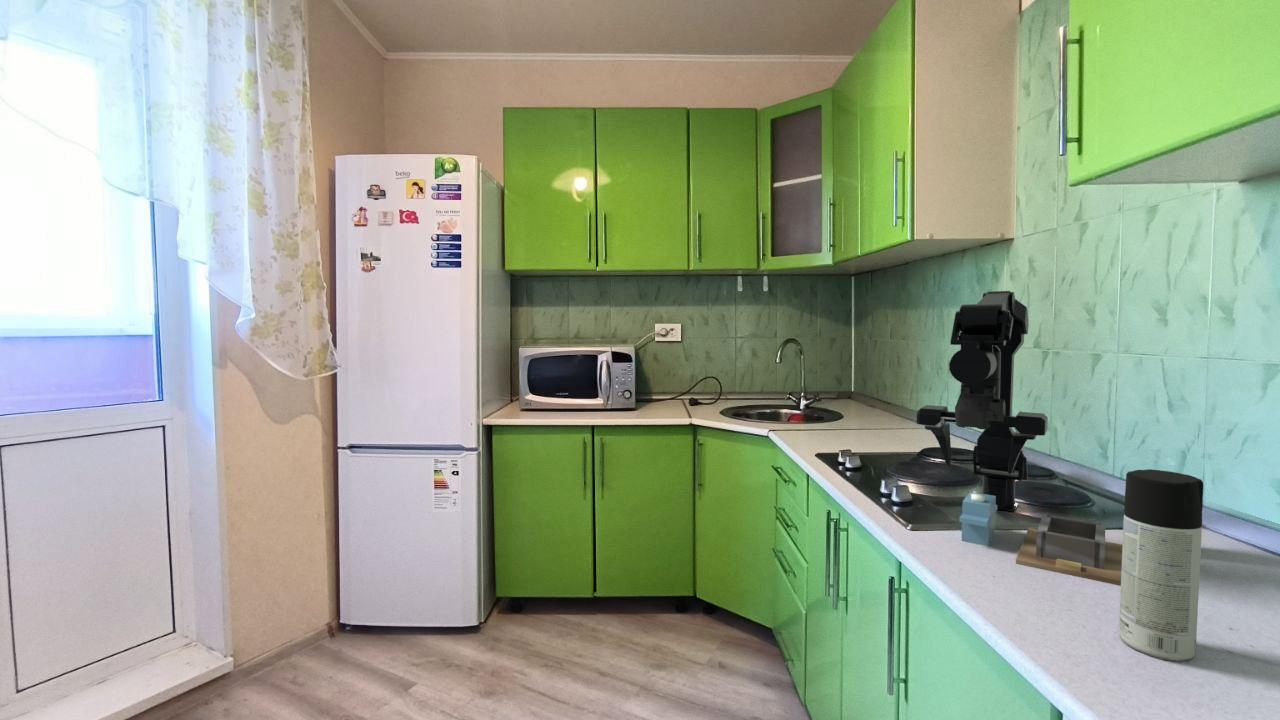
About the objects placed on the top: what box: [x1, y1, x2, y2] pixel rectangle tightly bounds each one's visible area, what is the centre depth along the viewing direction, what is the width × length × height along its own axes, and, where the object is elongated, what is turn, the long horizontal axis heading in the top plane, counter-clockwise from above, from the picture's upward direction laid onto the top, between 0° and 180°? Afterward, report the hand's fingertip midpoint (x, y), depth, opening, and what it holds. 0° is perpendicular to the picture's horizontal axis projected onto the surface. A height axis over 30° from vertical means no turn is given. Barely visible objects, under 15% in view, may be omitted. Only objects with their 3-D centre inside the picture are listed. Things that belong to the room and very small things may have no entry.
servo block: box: [959, 491, 998, 547], centre depth 102 cm, size 12×4×8 cm, turn 141°
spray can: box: [1118, 468, 1204, 662], centre depth 66 cm, size 7×7×20 cm
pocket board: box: [1015, 513, 1123, 586], centre depth 93 cm, size 18×13×4 cm
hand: (978, 469), depth 100 cm, fingers open, 9 cm apart
